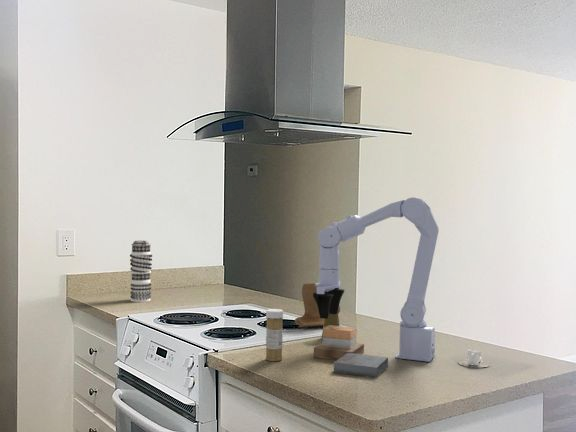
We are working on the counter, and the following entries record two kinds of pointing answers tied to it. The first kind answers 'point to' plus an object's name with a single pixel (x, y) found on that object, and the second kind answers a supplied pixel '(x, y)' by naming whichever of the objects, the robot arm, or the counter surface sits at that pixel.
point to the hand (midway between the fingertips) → (328, 316)
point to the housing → (339, 337)
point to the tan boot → (309, 308)
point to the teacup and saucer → (474, 356)
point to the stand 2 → (361, 365)
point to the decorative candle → (140, 271)
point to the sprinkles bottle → (274, 334)
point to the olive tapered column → (332, 320)
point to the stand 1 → (336, 351)
